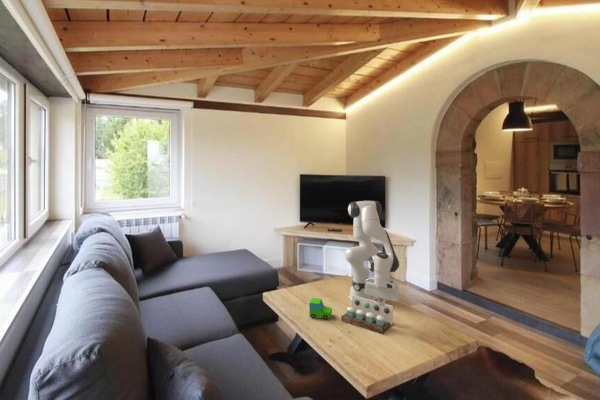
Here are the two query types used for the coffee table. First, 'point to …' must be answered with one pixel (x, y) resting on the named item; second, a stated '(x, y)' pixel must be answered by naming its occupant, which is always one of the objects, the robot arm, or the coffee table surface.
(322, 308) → the toy car
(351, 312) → the button
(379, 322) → the button
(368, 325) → the walnut button board
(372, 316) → the button
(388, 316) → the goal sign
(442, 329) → the coffee table surface
